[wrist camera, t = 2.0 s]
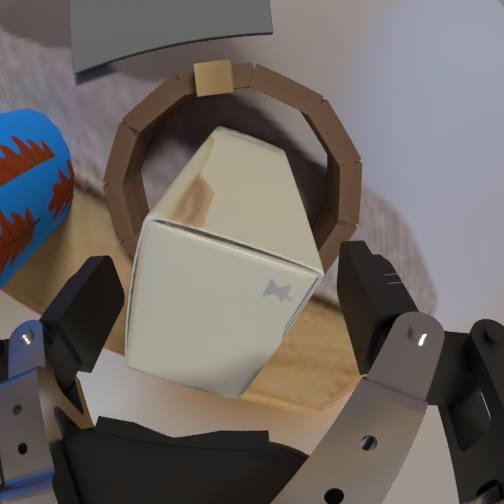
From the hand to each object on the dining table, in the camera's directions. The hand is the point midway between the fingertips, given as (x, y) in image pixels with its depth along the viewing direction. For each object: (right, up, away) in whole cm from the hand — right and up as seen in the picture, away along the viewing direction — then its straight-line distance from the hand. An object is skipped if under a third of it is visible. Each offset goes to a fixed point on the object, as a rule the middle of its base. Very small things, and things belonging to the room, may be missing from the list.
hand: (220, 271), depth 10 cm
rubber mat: (-4, +17, 0) cm, 18 cm away
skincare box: (0, +5, +8) cm, 10 cm away
